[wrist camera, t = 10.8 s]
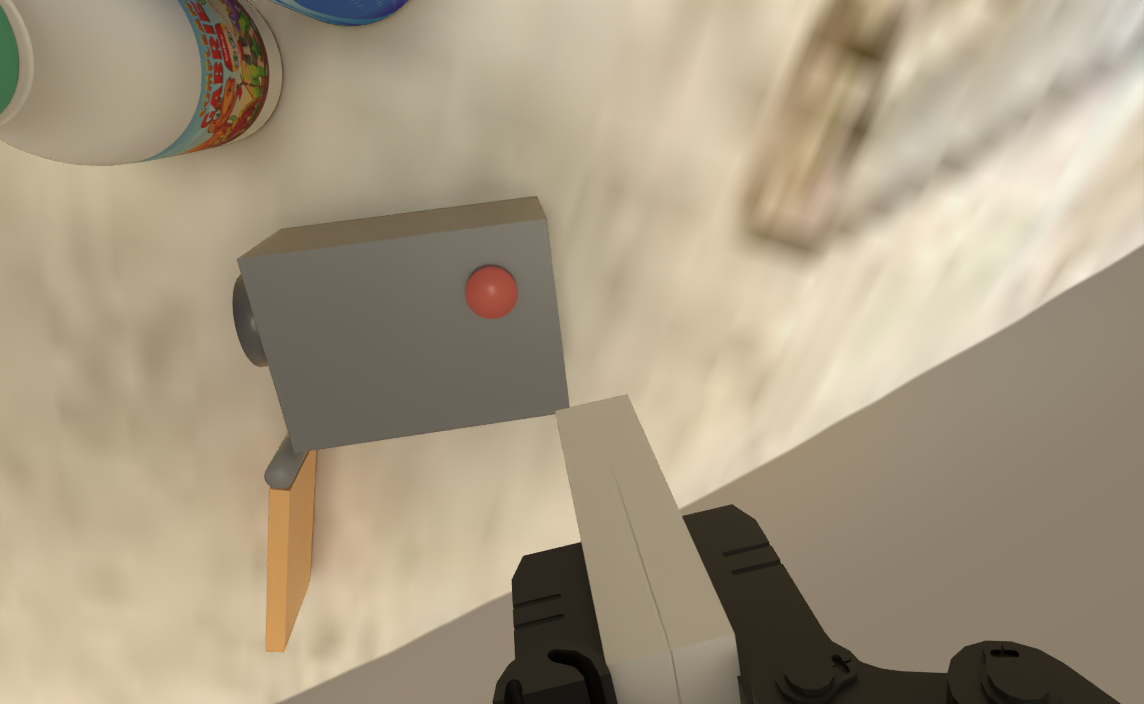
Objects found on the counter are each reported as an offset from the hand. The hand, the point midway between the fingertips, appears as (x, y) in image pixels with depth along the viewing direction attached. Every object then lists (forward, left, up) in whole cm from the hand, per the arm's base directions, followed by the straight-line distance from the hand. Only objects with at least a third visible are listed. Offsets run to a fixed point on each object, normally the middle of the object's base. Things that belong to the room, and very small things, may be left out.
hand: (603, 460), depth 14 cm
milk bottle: (-15, +10, -27) cm, 32 cm away
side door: (-16, -15, -26) cm, 34 cm away
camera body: (-7, -4, -26) cm, 27 cm away
